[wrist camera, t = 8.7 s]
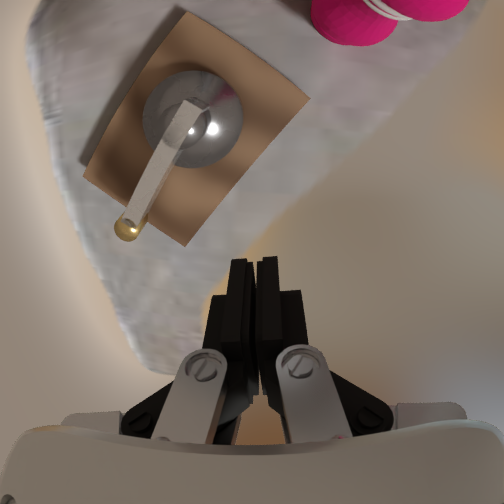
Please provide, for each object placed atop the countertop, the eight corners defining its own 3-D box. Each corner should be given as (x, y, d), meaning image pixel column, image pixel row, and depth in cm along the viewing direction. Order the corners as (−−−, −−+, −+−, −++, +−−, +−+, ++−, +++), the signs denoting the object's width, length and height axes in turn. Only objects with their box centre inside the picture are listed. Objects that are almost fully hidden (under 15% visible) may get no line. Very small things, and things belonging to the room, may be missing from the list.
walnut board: (191, 15, 22) (186, 10, 20) (307, 97, 26) (310, 98, 25) (90, 171, 31) (81, 177, 29) (187, 238, 35) (184, 248, 33)
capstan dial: (178, 54, 23) (160, 49, 18) (263, 103, 25) (264, 108, 21) (105, 194, 30) (82, 216, 25) (176, 235, 32) (163, 263, 28)
